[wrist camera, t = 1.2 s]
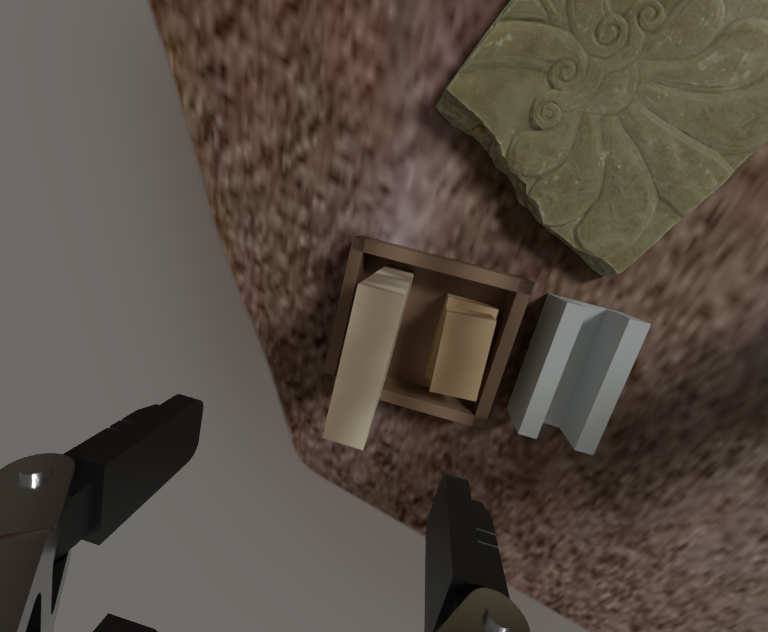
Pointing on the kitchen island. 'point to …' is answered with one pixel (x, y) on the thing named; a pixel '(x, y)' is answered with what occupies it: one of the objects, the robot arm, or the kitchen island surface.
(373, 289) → the birch sheet
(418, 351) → the wooden tray
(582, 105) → the decorative tile
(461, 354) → the oak offcut upper
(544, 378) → the slot stand
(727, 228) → the kitchen island surface
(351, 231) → the kitchen island surface
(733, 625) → the kitchen island surface
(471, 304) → the oak offcut lower
